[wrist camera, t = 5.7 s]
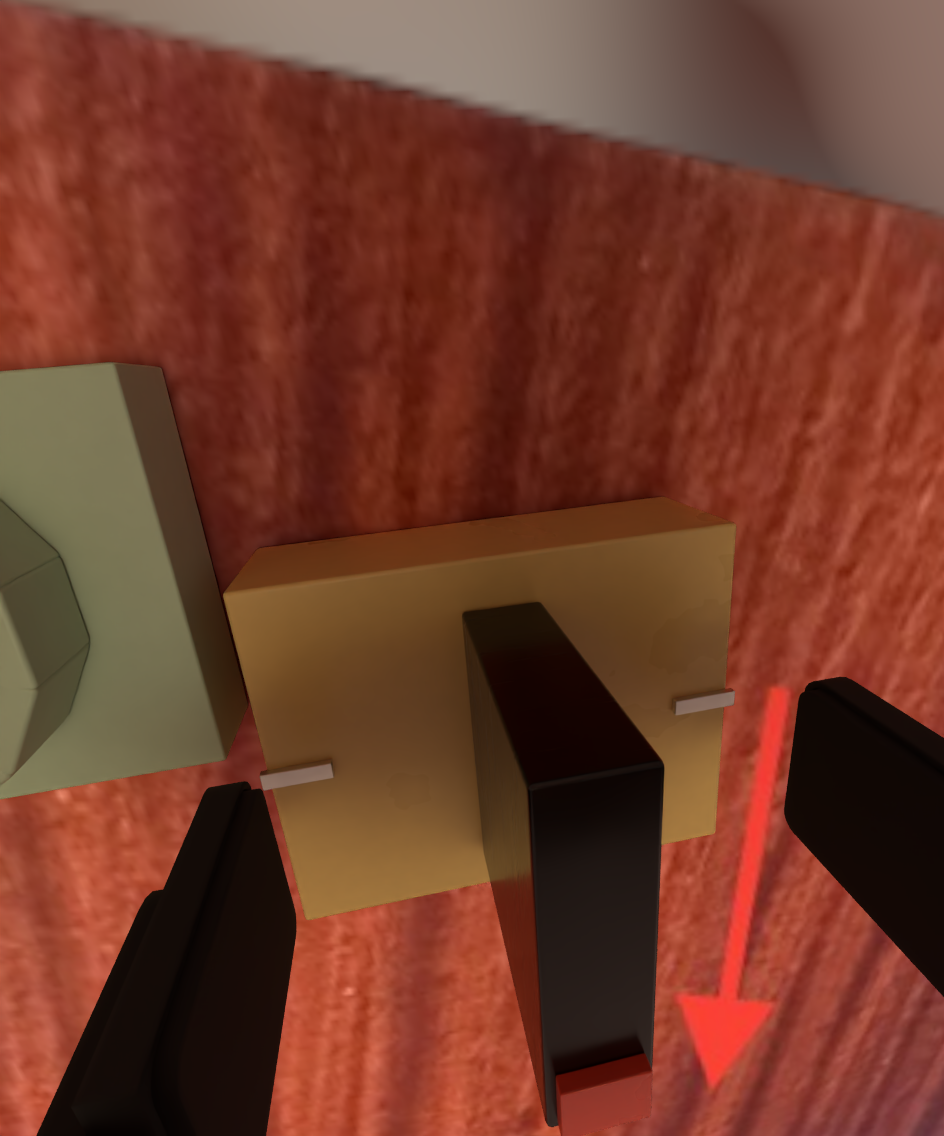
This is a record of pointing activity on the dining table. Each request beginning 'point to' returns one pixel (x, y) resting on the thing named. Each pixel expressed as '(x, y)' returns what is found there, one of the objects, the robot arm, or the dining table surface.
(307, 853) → the plate
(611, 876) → the block
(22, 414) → the button block
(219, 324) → the dining table surface
